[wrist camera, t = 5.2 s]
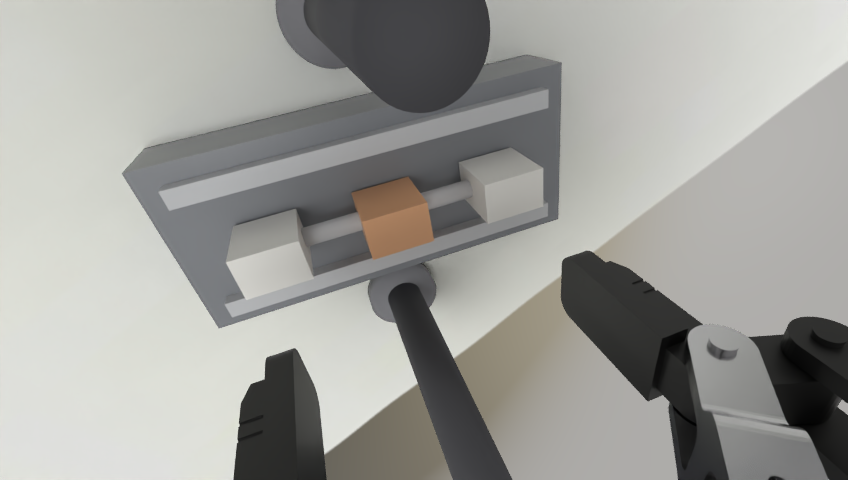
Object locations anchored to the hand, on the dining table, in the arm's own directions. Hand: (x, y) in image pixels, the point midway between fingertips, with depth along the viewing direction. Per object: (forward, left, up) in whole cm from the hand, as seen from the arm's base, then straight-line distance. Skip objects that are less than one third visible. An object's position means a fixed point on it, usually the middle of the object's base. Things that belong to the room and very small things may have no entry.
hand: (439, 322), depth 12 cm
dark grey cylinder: (-7, -3, -11) cm, 14 cm away
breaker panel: (0, 0, -11) cm, 11 cm away
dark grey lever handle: (+7, +3, -11) cm, 13 cm away
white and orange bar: (0, 0, -8) cm, 8 cm away
